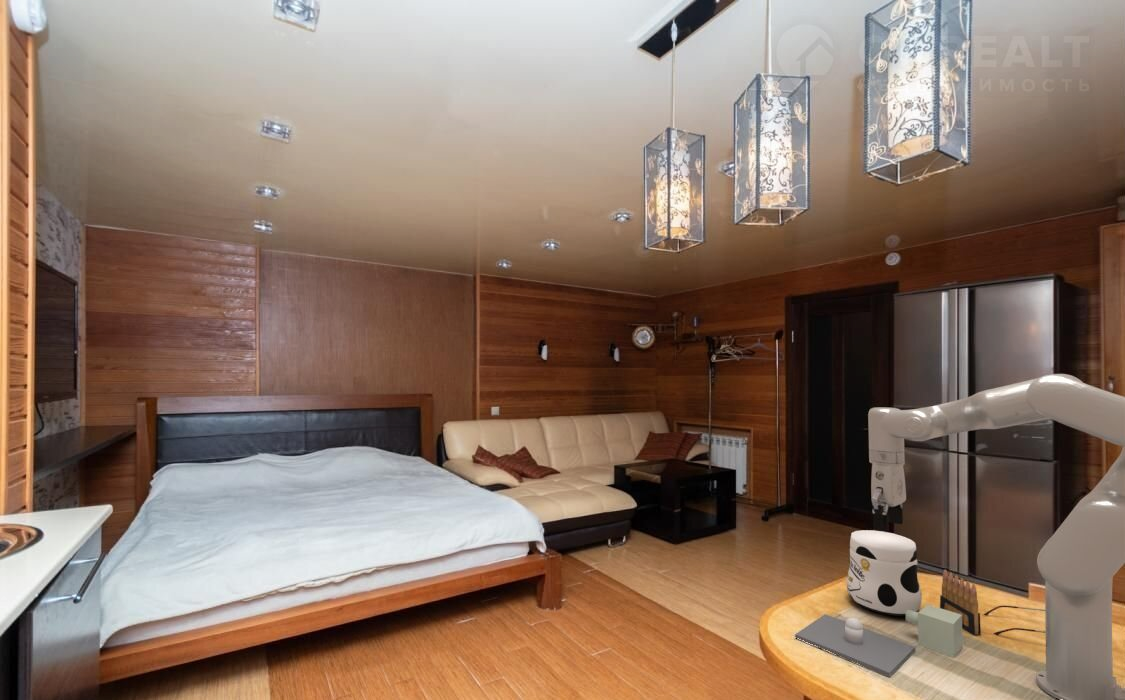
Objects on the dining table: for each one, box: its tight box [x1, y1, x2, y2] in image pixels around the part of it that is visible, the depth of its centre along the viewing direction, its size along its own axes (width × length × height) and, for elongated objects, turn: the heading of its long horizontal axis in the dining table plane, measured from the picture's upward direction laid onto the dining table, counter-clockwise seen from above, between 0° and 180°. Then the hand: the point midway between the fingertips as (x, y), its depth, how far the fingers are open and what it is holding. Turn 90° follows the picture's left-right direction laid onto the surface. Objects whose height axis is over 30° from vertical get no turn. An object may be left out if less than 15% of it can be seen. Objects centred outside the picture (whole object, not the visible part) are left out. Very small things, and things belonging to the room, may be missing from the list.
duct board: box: [794, 613, 916, 678], centre depth 122 cm, size 20×16×6 cm
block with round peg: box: [905, 603, 963, 658], centre depth 123 cm, size 10×7×7 cm
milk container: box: [845, 529, 923, 617], centre depth 142 cm, size 17×17×18 cm
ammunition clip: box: [939, 569, 982, 636], centre depth 132 cm, size 11×2×12 cm, turn 3°
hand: (888, 526), depth 131 cm, fingers open, 9 cm apart
